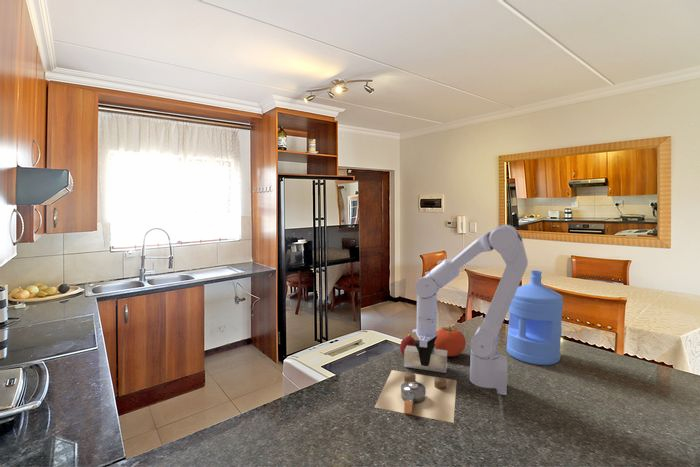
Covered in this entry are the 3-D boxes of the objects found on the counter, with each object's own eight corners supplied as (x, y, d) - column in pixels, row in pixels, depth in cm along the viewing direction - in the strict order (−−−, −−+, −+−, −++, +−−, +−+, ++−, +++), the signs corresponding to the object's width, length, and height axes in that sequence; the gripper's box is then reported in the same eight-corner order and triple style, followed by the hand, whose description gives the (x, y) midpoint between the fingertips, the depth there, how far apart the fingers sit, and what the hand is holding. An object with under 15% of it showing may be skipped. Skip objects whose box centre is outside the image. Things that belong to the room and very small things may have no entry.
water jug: (523, 342, 125) (527, 265, 123) (569, 359, 112) (574, 273, 110) (496, 352, 117) (499, 269, 115) (542, 370, 104) (547, 278, 102)
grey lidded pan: (403, 388, 91) (403, 376, 90) (426, 392, 89) (426, 380, 88) (395, 411, 81) (395, 397, 80) (421, 416, 79) (421, 402, 78)
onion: (417, 363, 108) (418, 338, 108) (399, 361, 109) (399, 336, 109) (418, 355, 114) (418, 331, 113) (400, 354, 115) (400, 330, 115)
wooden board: (456, 384, 96) (456, 373, 95) (453, 428, 77) (453, 414, 76) (391, 374, 101) (392, 364, 101) (374, 412, 82) (374, 399, 82)
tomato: (443, 346, 122) (443, 318, 121) (470, 355, 114) (471, 325, 114) (426, 355, 115) (427, 325, 114) (455, 365, 107) (456, 333, 106)
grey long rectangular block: (447, 366, 103) (447, 350, 103) (446, 372, 99) (446, 355, 99) (406, 361, 107) (406, 345, 106) (404, 366, 103) (404, 350, 103)
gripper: (416, 308, 110) (415, 350, 111) (408, 323, 96) (408, 370, 97) (439, 311, 108) (438, 353, 109) (435, 326, 94) (434, 374, 95)
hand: (425, 362), depth 103 cm, fingers closed on grey long rectangular block, 4 cm apart
